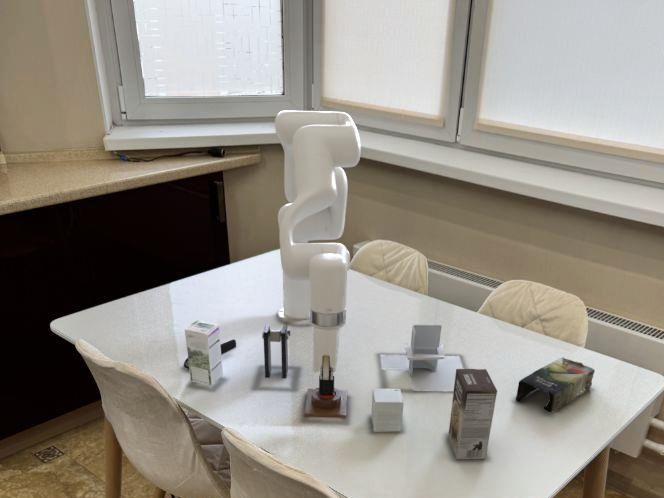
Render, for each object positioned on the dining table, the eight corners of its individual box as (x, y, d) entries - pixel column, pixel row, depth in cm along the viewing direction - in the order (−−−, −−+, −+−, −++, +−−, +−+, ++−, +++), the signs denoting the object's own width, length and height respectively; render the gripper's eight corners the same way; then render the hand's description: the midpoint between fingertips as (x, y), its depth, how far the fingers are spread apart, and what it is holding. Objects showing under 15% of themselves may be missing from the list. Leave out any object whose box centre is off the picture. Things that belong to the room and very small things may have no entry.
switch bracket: (260, 367, 170) (258, 318, 163) (297, 368, 170) (296, 320, 163) (254, 388, 161) (252, 338, 154) (293, 390, 161) (292, 339, 154)
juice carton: (557, 373, 173) (562, 351, 169) (593, 388, 167) (599, 365, 164) (513, 401, 160) (517, 378, 157) (550, 418, 155) (555, 394, 151)
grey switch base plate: (472, 391, 163) (478, 347, 157) (384, 390, 162) (387, 345, 156) (459, 356, 179) (464, 314, 173) (379, 354, 178) (382, 312, 172)
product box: (370, 417, 152) (372, 387, 148) (398, 417, 152) (400, 387, 148) (373, 432, 147) (374, 402, 143) (401, 432, 147) (404, 402, 143)
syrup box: (224, 379, 164) (220, 322, 156) (211, 390, 159) (206, 333, 151) (203, 375, 165) (197, 318, 157) (190, 386, 160) (183, 328, 153)
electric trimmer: (240, 352, 177) (239, 340, 175) (192, 372, 166) (191, 360, 164) (230, 348, 179) (229, 336, 177) (182, 367, 168) (181, 355, 166)
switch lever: (270, 337, 170) (270, 327, 169) (290, 338, 170) (290, 328, 170) (263, 341, 158) (263, 330, 158) (285, 342, 158) (285, 331, 158)
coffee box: (446, 435, 147) (455, 367, 138) (476, 435, 147) (486, 367, 139) (455, 460, 139) (464, 390, 130) (486, 459, 140) (498, 390, 131)
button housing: (307, 396, 159) (307, 380, 156) (346, 397, 159) (347, 382, 157) (304, 421, 149) (304, 405, 147) (345, 422, 149) (346, 407, 147)
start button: (318, 395, 154) (318, 388, 153) (334, 396, 154) (334, 389, 153) (317, 403, 151) (317, 396, 150) (334, 404, 151) (334, 397, 150)
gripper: (311, 301, 148) (311, 377, 158) (306, 329, 136) (307, 410, 145) (346, 302, 148) (344, 378, 158) (345, 331, 136) (342, 411, 145)
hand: (326, 393), depth 152 cm, fingers closed
